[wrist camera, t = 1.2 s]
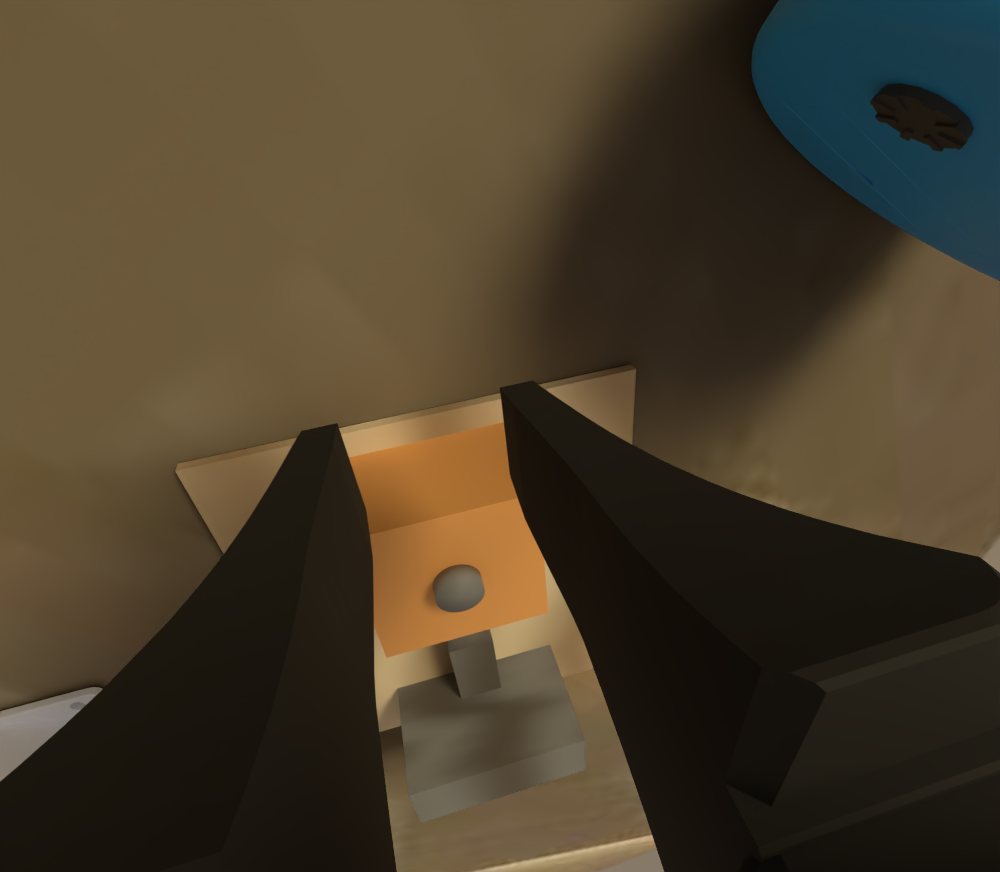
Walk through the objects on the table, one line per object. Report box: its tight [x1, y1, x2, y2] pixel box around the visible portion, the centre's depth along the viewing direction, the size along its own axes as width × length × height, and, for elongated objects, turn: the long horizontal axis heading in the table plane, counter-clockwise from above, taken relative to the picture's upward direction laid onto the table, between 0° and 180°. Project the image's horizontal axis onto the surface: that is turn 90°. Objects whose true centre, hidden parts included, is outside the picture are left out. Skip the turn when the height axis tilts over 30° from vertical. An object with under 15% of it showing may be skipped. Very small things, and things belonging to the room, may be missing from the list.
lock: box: [349, 422, 548, 658], centre depth 20 cm, size 6×6×5 cm
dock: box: [175, 364, 636, 823], centre depth 23 cm, size 16×19×5 cm
